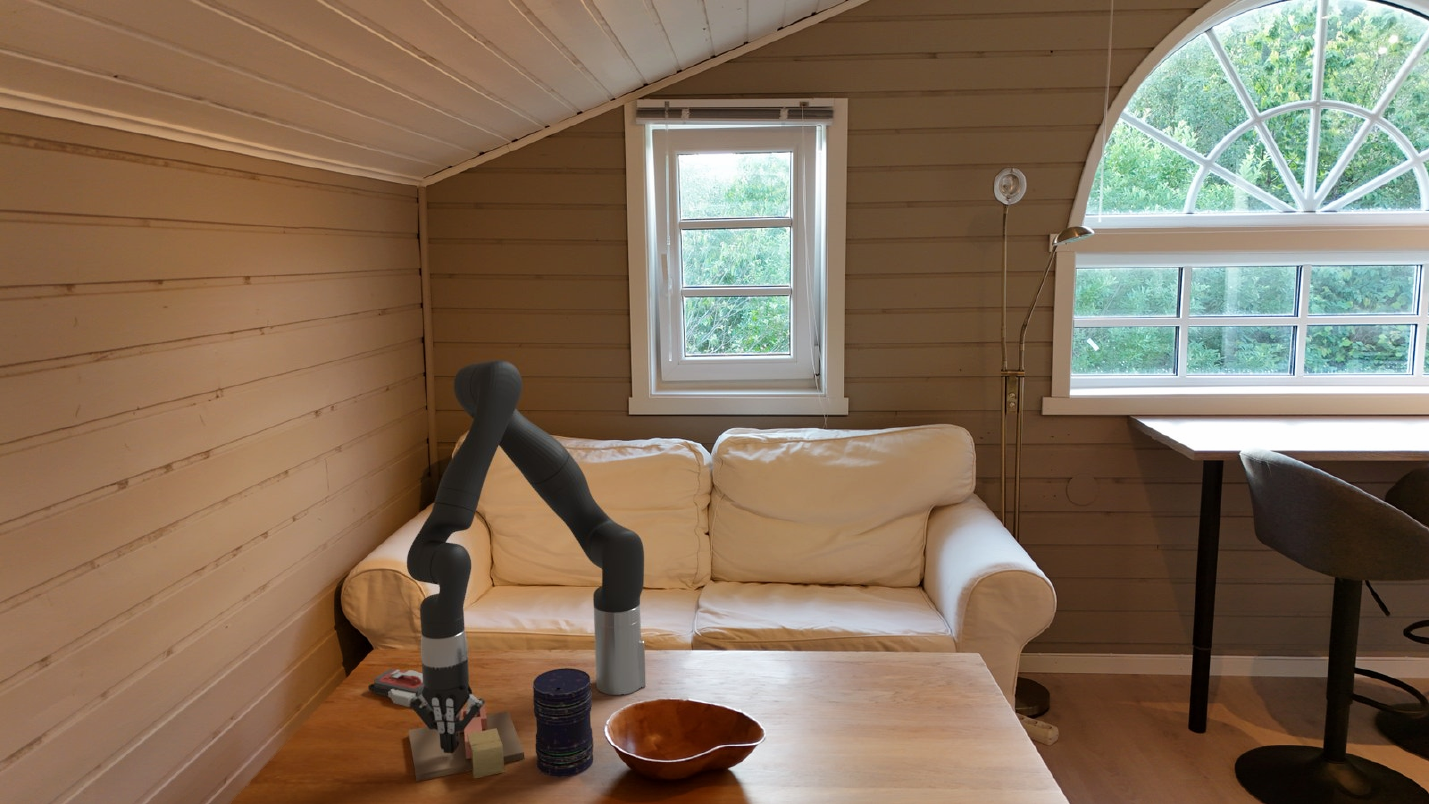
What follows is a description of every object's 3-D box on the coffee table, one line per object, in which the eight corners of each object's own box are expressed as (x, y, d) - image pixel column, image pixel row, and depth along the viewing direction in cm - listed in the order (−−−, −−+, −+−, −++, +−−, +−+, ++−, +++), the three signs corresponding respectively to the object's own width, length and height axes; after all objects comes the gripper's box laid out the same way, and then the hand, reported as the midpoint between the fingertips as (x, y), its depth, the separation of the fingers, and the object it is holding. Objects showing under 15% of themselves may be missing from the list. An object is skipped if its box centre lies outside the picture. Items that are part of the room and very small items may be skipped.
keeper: (497, 753, 167) (496, 728, 166) (504, 772, 161) (502, 746, 160) (468, 759, 165) (467, 734, 164) (474, 778, 159) (472, 752, 158)
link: (457, 719, 176) (457, 709, 176) (485, 715, 177) (485, 705, 177) (460, 760, 162) (459, 749, 162) (490, 755, 164) (489, 744, 163)
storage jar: (543, 746, 169) (539, 667, 167) (598, 746, 169) (595, 667, 166) (530, 777, 159) (526, 694, 157) (589, 778, 159) (585, 694, 156)
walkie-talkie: (360, 698, 189) (442, 716, 181) (358, 677, 188) (441, 695, 180) (391, 679, 197) (471, 696, 189) (389, 659, 196) (469, 675, 188)
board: (508, 716, 180) (508, 710, 180) (524, 758, 165) (524, 752, 165) (408, 736, 173) (408, 730, 173) (416, 781, 159) (416, 775, 158)
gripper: (397, 663, 158) (404, 760, 161) (473, 667, 156) (479, 765, 159) (417, 645, 165) (423, 737, 168) (490, 648, 164) (495, 741, 167)
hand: (450, 750), depth 164 cm, fingers closed
